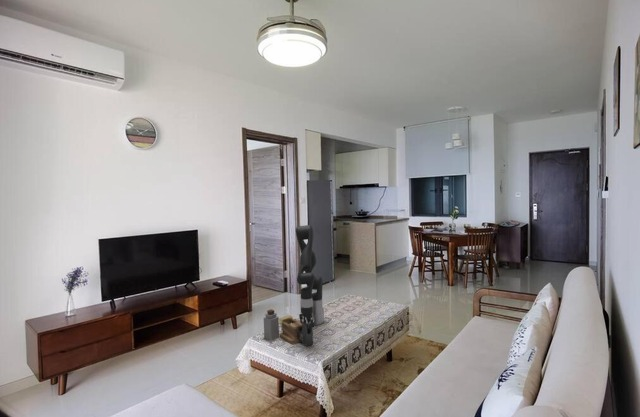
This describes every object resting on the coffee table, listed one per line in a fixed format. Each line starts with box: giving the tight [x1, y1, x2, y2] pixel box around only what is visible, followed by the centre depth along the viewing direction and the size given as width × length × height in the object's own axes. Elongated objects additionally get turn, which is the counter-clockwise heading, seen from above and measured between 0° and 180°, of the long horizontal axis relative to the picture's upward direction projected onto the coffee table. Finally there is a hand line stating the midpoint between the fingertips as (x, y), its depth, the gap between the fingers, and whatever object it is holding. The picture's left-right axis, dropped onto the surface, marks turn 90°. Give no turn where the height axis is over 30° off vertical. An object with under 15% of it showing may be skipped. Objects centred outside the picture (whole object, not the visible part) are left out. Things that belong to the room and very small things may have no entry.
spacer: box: [279, 315, 294, 326], centre depth 233 cm, size 8×4×4 cm, turn 129°
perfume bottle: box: [263, 308, 280, 342], centre depth 227 cm, size 7×7×18 cm
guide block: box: [279, 318, 302, 345], centre depth 226 cm, size 14×14×10 cm
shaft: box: [280, 322, 314, 347], centre depth 225 cm, size 5×28×14 cm, turn 39°
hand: (307, 332), depth 215 cm, fingers closed on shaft, 4 cm apart
